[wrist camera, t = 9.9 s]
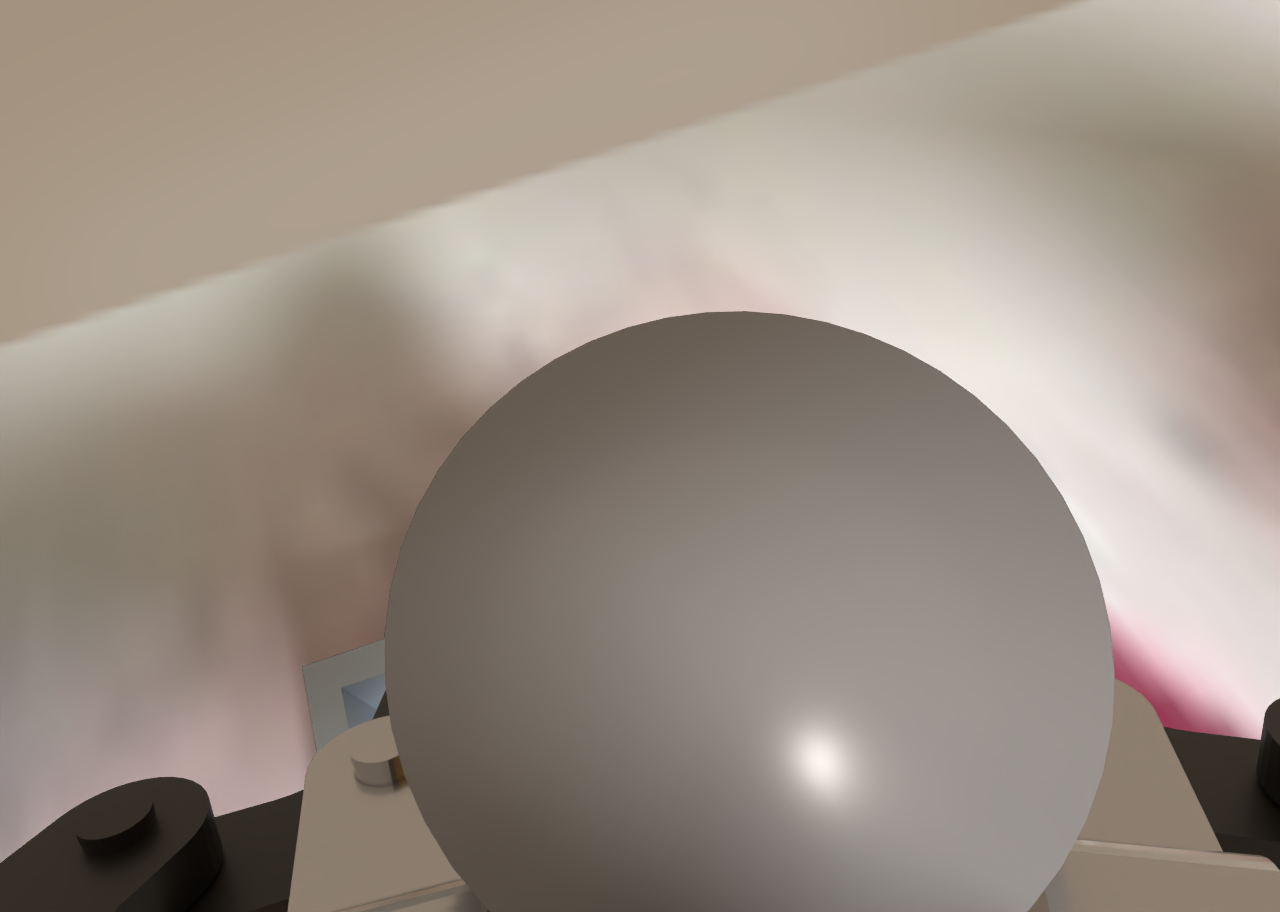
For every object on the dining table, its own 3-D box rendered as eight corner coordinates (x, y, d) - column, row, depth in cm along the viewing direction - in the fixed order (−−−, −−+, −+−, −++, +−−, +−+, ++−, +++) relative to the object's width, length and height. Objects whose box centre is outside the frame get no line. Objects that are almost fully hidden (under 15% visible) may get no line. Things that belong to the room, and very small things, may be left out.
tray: (888, 514, 20) (916, 458, 17) (1112, 957, 16) (1189, 967, 14) (353, 698, 19) (302, 667, 16) (456, 1224, 15) (409, 1289, 12)
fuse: (769, 662, 17) (907, 239, 6) (861, 889, 15) (1277, 850, 4) (563, 735, 17) (326, 421, 6) (633, 976, 15) (481, 1168, 4)
